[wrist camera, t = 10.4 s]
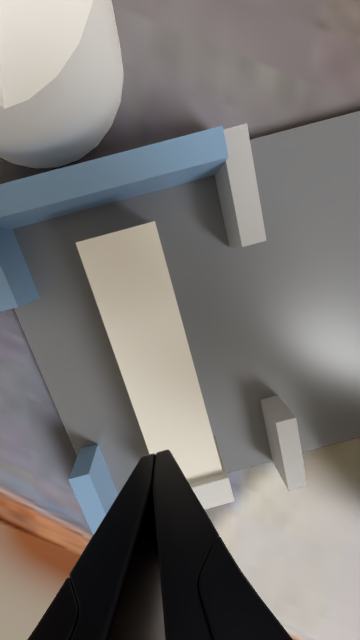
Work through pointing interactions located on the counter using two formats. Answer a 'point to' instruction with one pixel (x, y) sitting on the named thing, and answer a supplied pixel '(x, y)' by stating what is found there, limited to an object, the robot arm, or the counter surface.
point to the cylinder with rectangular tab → (57, 79)
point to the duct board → (202, 292)
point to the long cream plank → (155, 354)
